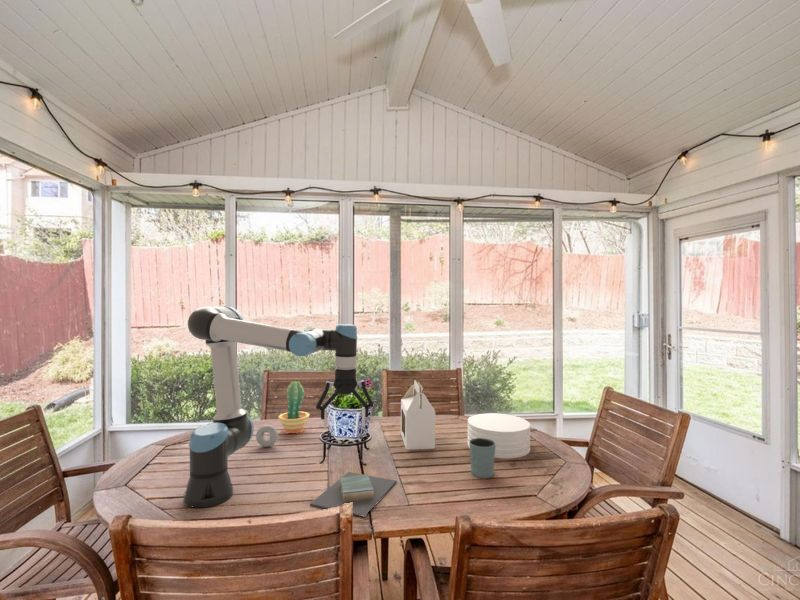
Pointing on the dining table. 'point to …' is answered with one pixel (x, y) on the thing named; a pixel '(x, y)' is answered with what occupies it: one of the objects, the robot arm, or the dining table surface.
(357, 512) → the rubber mat
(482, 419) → the plate stack
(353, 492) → the birch tile
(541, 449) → the dining table surface
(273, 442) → the donut
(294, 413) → the potted cactus
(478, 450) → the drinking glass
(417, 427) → the gable box
